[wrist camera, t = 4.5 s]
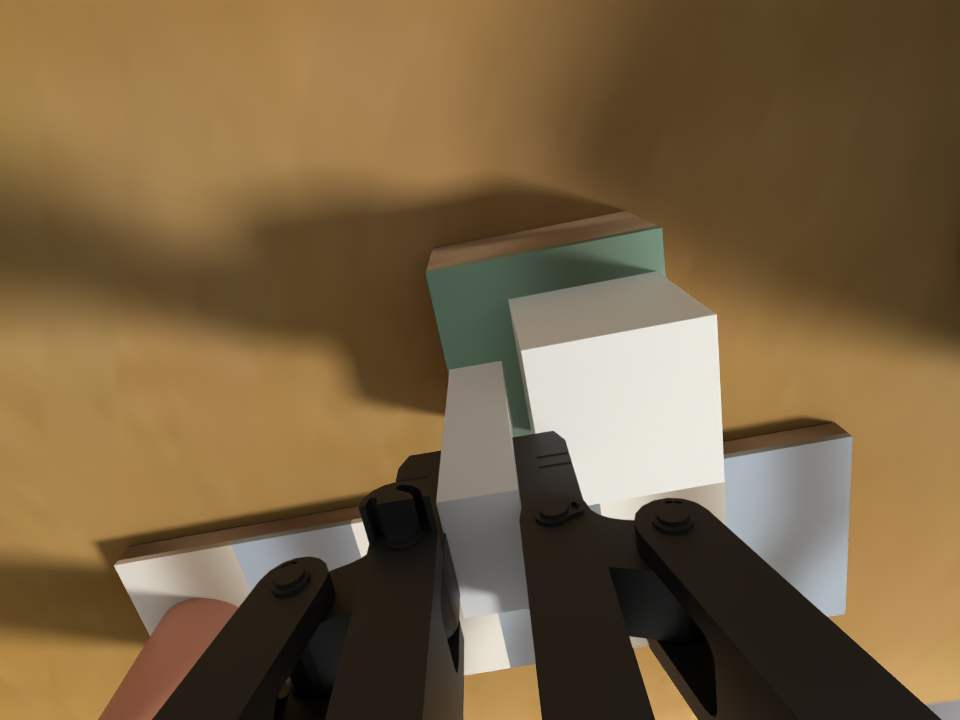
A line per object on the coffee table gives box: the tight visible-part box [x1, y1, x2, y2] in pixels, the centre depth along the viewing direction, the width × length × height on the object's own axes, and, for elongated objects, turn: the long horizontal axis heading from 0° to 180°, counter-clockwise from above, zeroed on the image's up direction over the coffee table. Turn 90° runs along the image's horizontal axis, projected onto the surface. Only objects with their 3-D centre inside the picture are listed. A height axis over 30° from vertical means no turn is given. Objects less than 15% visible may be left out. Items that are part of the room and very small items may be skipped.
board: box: [114, 422, 853, 675], centre depth 26 cm, size 30×9×1 cm, turn 101°
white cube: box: [508, 271, 725, 506], centre depth 16 cm, size 4×4×4 cm
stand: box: [426, 211, 666, 437], centre depth 20 cm, size 7×7×4 cm
